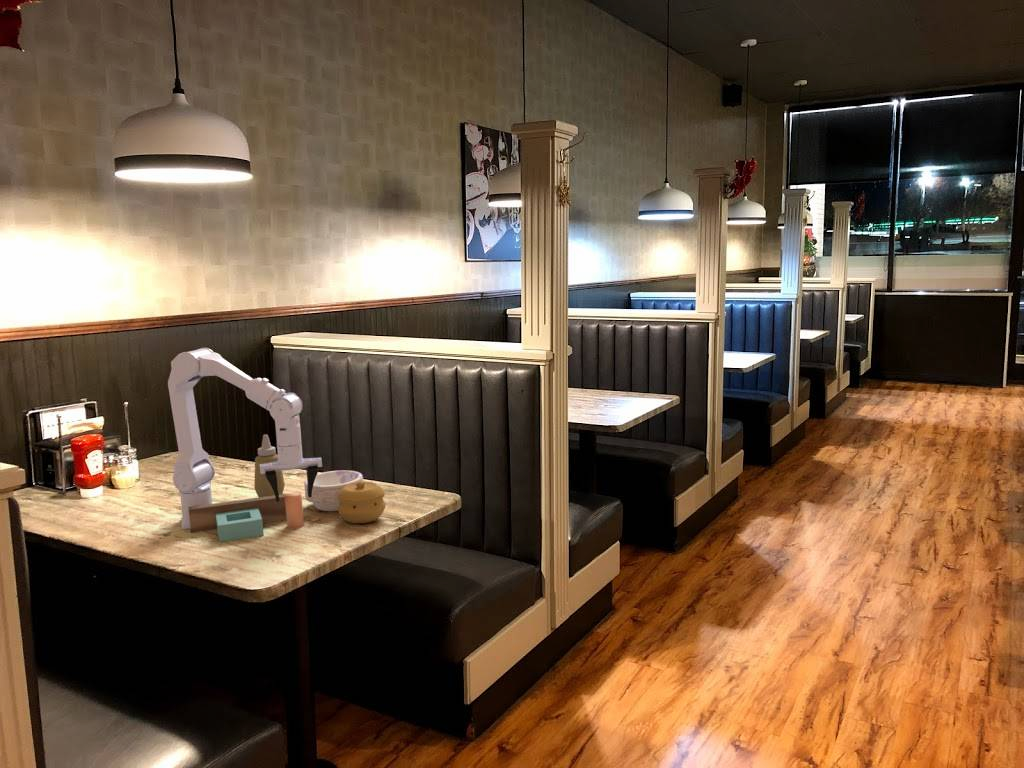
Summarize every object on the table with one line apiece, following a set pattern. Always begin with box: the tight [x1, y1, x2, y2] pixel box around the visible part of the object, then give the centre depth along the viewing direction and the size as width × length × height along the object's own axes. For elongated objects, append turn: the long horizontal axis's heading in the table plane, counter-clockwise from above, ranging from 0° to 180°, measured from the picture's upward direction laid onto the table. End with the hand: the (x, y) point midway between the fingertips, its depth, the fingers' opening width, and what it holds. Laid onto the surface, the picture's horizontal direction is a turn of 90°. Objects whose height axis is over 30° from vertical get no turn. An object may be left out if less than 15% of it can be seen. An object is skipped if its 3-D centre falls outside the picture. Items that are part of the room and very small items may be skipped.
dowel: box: [285, 492, 305, 529], centre depth 206 cm, size 4×4×8 cm
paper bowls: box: [303, 469, 364, 512], centre depth 221 cm, size 15×15×8 cm
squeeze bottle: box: [253, 434, 286, 498], centre depth 228 cm, size 8×8×18 cm
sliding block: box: [216, 508, 264, 543], centre depth 202 cm, size 10×10×4 cm
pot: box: [337, 481, 387, 524], centre depth 209 cm, size 12×12×10 cm
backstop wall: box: [188, 493, 287, 534], centre depth 208 cm, size 2×24×6 cm, turn 112°
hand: (293, 498), depth 205 cm, fingers open, 7 cm apart
